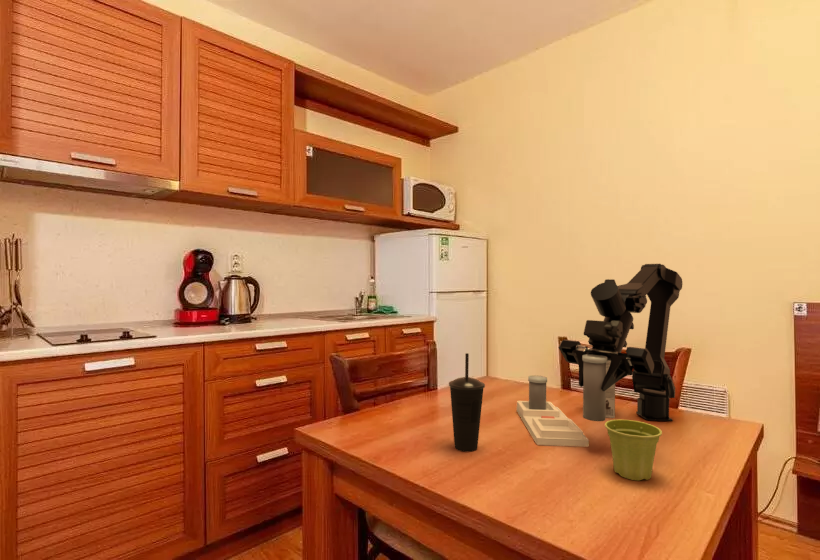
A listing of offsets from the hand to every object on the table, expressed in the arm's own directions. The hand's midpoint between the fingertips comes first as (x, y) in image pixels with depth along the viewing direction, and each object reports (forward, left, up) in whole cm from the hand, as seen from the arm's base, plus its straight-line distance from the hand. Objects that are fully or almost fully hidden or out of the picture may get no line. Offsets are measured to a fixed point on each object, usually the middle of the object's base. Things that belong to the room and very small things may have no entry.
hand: (591, 387), depth 90 cm
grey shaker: (-1, -1, -7) cm, 7 cm away
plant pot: (-4, +10, -14) cm, 17 cm away
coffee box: (-12, -29, -14) cm, 34 cm away
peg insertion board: (+5, -16, -13) cm, 21 cm away
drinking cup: (+26, 0, -14) cm, 29 cm away
